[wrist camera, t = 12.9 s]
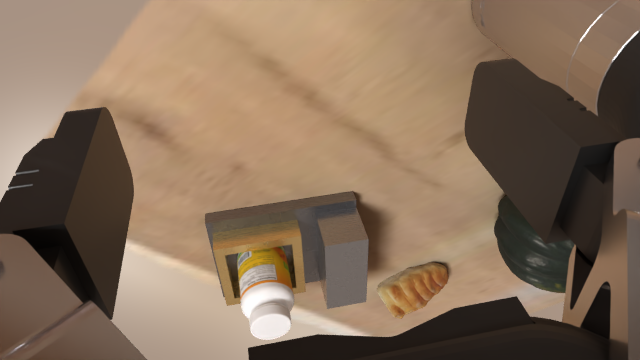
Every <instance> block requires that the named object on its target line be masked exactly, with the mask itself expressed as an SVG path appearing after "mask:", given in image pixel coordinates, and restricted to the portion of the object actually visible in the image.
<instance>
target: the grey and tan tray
mask: <svg viewBox="0 0 640 360" xmlns="http://www.w3.org/2000/svg"><path fill="white" fill-rule="evenodd" d="M205 224H206V228H207V232H208V236H209V240H210V244H211V248H212V252H213V256H214V260H215V264H216V268H217V272H218V276H219V280H220V284H221V288H222V292H223V296H224V297H225V300H226V304H227V306H228V305H234V304H240V303H241V300H240V287H239V276H238V265H237V256H238V253H242V252H248V251H254V250H260V249H266V248H272V247H278V246H282V247H283V248H284V250H285V254H286V258H287V263H288V268H289V273H290V278H291V284H292V289H293V294H296V293H301V292H306V289H305V283H308V282H314V281H320V282H321V286H322V290H323V294H324V298H325V302H326V306H327V309H329V308H335V307H340V306H346V305H351V304H356V303H362V302H366V294H367V269H368V244H369V239H368V236H367V233H366V231H365V228H364V226H363V223H362V221H361V218H360V215H359V213H358V210H357V208H356V198H355V195H354V193H353V191H351V192H345V193H338V194H332V195H325V196H319V197H312V198H306V199H299V200H293V201H286V202H280V203H273V204H267V205H260V206H253V207H247V208H240V209H234V210H227V211H221V212H214V213H208V214H205Z"/></svg>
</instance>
